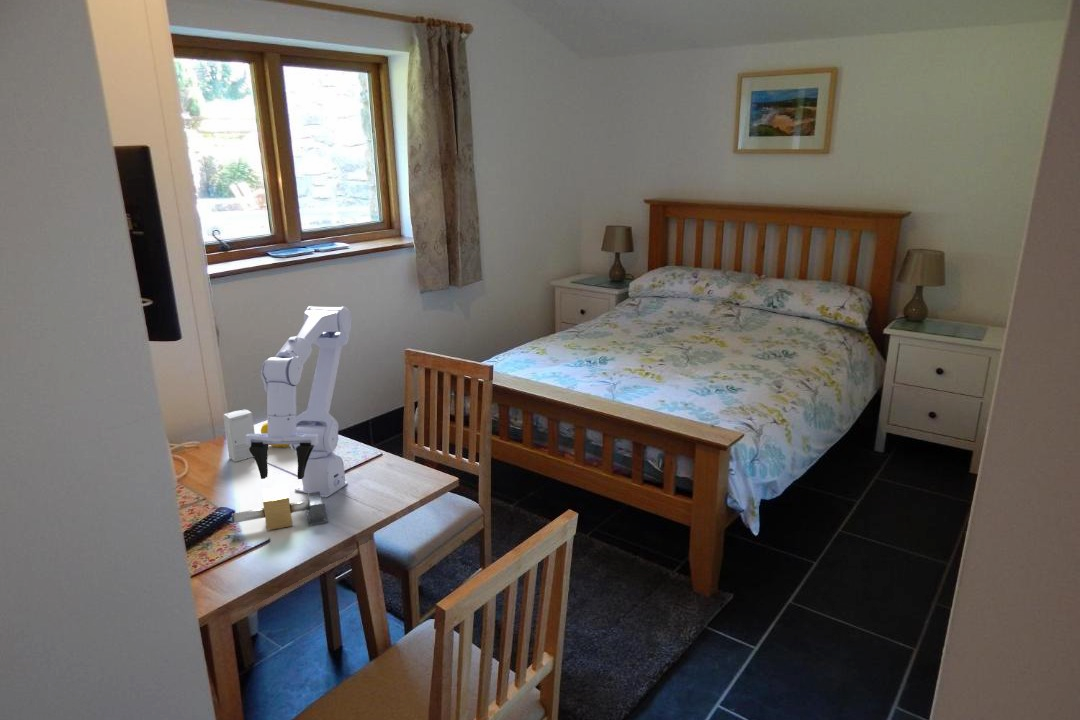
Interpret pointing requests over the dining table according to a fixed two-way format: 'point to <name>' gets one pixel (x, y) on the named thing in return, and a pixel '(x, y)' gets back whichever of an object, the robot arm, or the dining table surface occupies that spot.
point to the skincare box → (238, 433)
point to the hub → (277, 507)
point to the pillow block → (316, 510)
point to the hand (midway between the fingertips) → (282, 477)
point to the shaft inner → (300, 506)
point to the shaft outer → (248, 515)
